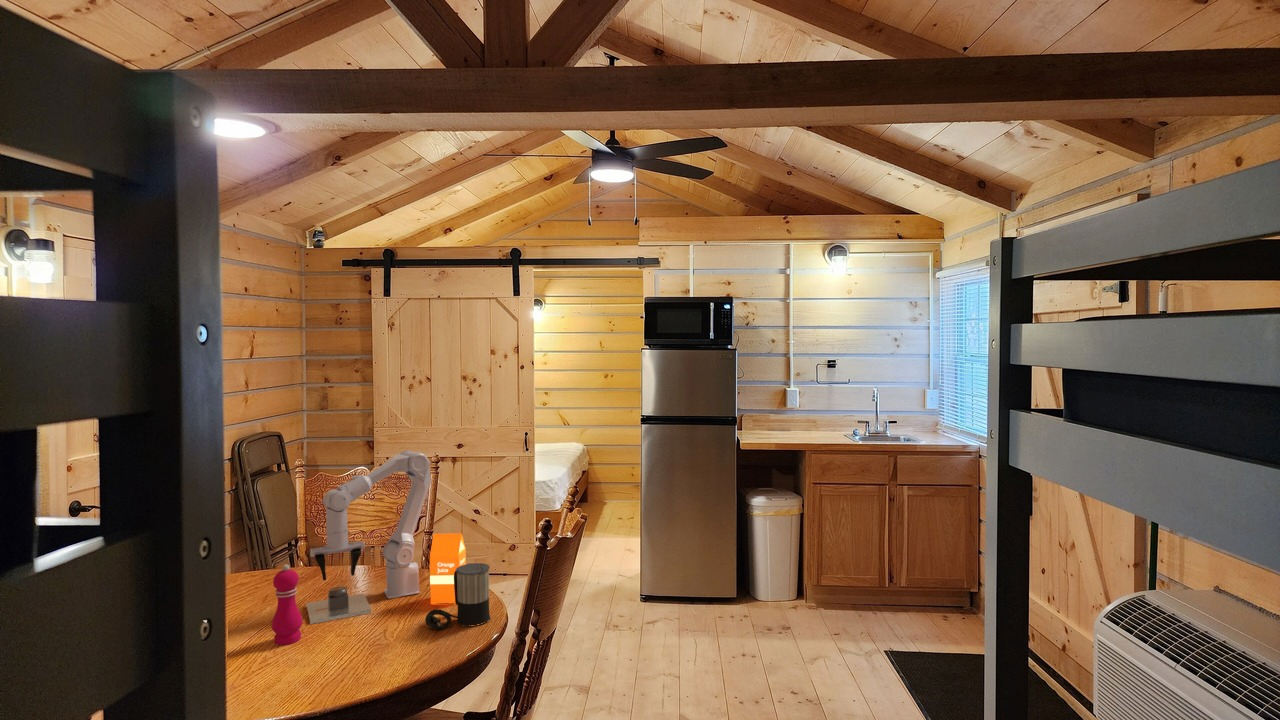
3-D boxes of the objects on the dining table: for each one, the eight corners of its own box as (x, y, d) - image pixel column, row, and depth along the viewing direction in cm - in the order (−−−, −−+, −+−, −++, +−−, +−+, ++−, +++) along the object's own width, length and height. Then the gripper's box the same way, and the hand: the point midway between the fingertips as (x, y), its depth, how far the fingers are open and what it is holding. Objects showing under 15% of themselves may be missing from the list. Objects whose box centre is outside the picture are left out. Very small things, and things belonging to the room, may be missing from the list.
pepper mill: (290, 647, 181) (288, 569, 180) (265, 645, 182) (263, 568, 182) (309, 635, 188) (306, 561, 188) (285, 634, 189) (283, 559, 189)
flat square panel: (363, 596, 218) (363, 585, 217) (371, 612, 204) (371, 600, 203) (306, 606, 210) (306, 594, 210) (310, 624, 196) (310, 611, 196)
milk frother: (498, 618, 198) (496, 565, 197) (456, 638, 184) (454, 582, 184) (461, 609, 205) (459, 558, 205) (418, 628, 191) (417, 574, 191)
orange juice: (459, 604, 209) (458, 536, 209) (430, 604, 209) (428, 537, 209) (466, 594, 217) (465, 530, 217) (438, 595, 217) (436, 530, 217)
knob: (346, 602, 210) (346, 585, 210) (348, 607, 205) (348, 589, 205) (328, 605, 207) (327, 588, 207) (329, 610, 203) (329, 593, 203)
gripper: (361, 524, 214) (362, 569, 214) (308, 531, 207) (310, 577, 207) (365, 529, 208) (366, 575, 208) (310, 536, 201) (312, 584, 201)
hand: (338, 577), depth 207 cm, fingers open, 7 cm apart
